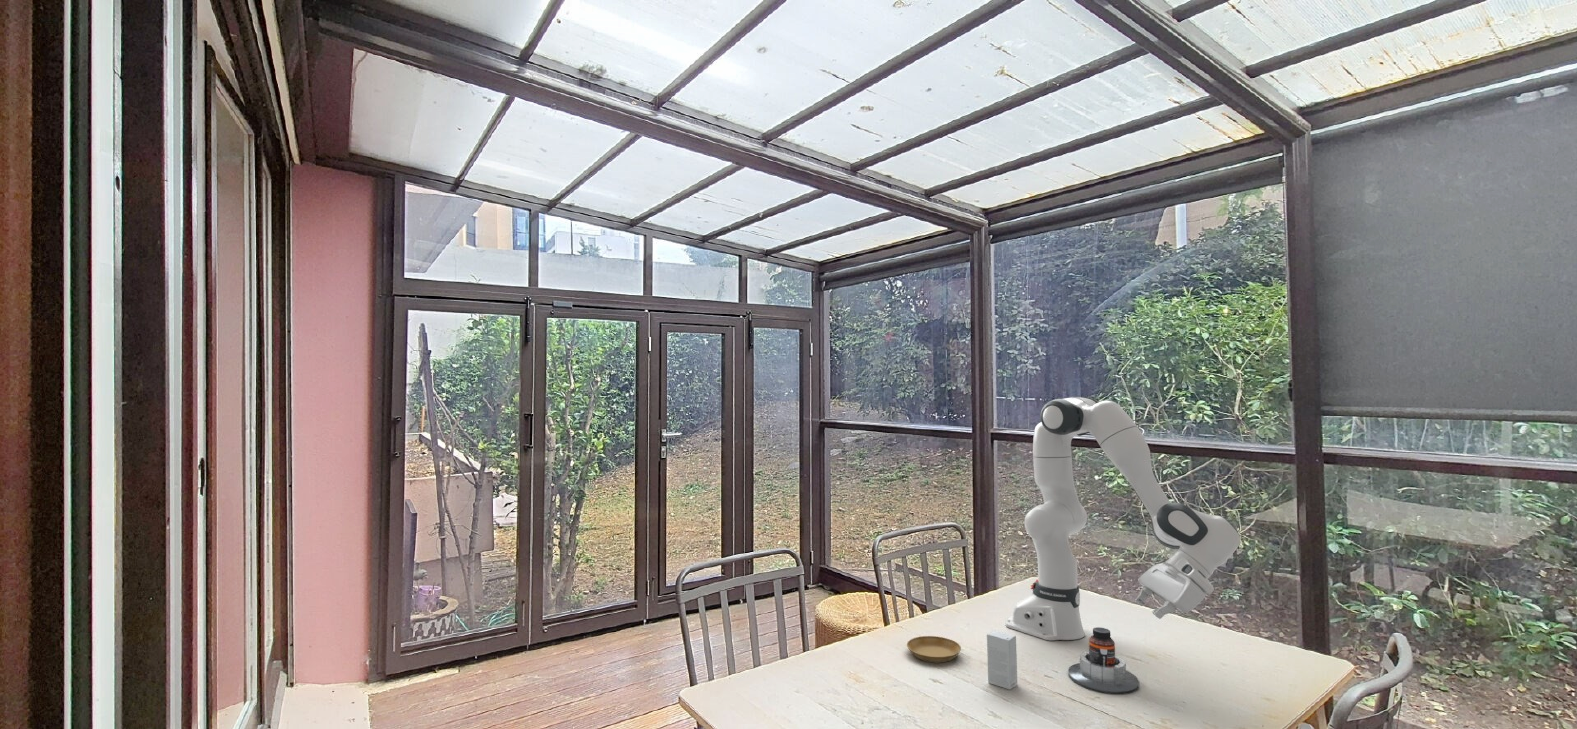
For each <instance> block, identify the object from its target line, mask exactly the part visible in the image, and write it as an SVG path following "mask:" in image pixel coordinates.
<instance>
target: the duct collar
mask: <svg viewBox="0 0 1577 729" xmlns="http://www.w3.org/2000/svg"><path fill="white" fill-rule="evenodd" d="M1067 672H1068V677H1069V678H1070V680H1071V681H1072V682H1073V683H1075V684H1077V685H1078V686H1081V687H1082V688H1084V689H1088V690H1090V691H1094V692H1097V693H1102V694H1111V695H1125V694H1131V693H1134V692H1136V691H1138V689H1139V688H1140V681H1139V679H1138V677H1137V676H1136V675H1135V674H1133V673H1132V672H1131V671H1129V670H1127V663H1126V660H1124V659H1123V657H1120V656H1119V655H1116V654H1115V665H1114V666H1105V665H1099V664H1095V663H1092V662H1090V661H1089V651H1084V652H1082V653H1080V654H1079V662H1077V663H1074V664H1072V665H1070V666H1069V667H1068V671H1067Z"/></svg>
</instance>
